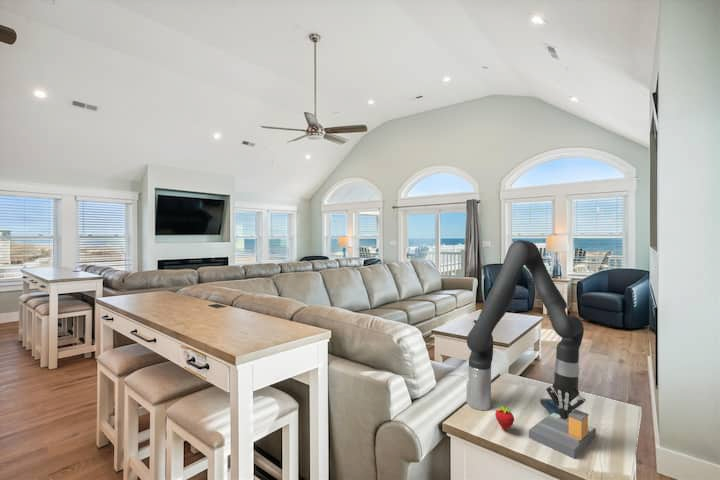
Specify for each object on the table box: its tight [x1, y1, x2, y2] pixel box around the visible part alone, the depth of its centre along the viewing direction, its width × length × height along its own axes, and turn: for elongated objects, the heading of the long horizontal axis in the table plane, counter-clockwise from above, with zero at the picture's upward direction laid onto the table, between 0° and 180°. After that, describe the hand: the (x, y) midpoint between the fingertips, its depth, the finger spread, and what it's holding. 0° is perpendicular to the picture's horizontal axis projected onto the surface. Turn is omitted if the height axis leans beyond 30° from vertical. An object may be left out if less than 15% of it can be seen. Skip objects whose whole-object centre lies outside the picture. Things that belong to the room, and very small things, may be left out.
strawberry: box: [495, 404, 515, 432], centre depth 133 cm, size 6×8×10 cm
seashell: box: [539, 397, 573, 414], centre depth 146 cm, size 6×9×10 cm
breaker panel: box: [528, 412, 597, 459], centre depth 128 cm, size 15×20×4 cm
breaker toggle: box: [568, 408, 589, 440], centre depth 124 cm, size 4×6×7 cm
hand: (564, 418), depth 128 cm, fingers closed
